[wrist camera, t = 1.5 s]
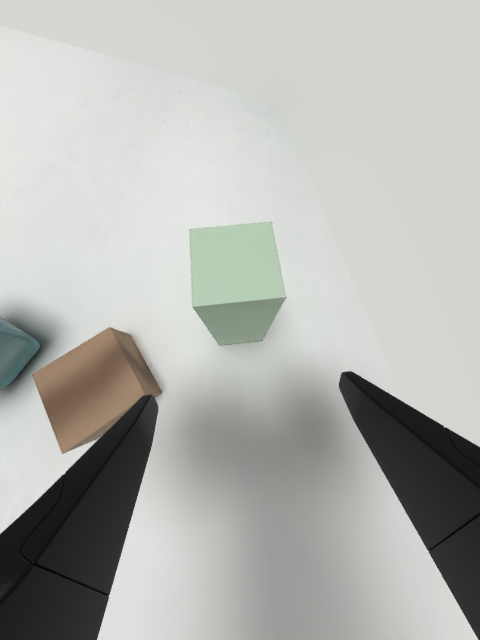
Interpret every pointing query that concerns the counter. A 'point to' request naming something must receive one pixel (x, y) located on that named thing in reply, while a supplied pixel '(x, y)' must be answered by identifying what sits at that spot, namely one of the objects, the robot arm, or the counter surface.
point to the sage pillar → (236, 280)
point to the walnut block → (93, 387)
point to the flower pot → (14, 351)
